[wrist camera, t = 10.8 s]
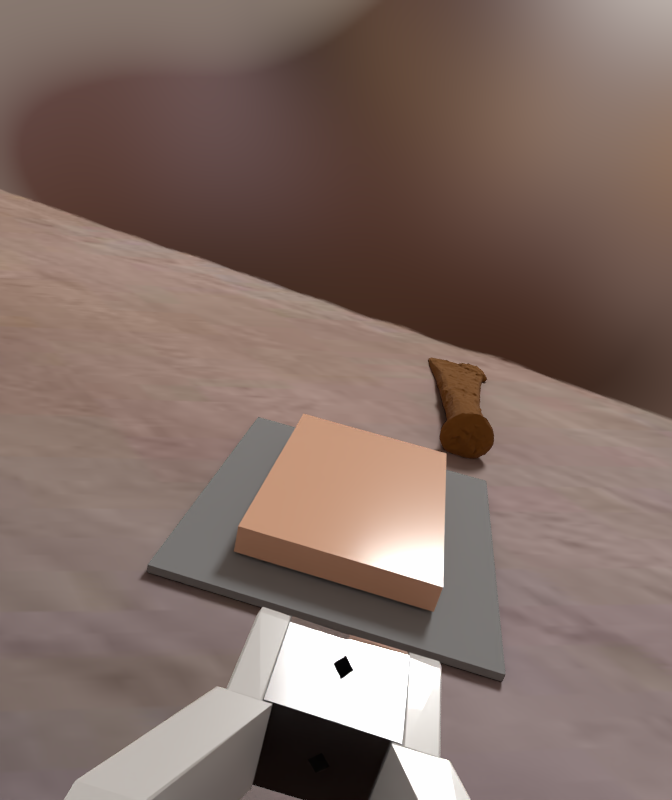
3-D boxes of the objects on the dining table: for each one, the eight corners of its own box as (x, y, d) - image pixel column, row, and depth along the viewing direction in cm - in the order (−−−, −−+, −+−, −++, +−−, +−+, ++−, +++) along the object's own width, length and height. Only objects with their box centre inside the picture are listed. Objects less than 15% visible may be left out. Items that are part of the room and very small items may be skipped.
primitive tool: (426, 361, 57) (437, 327, 56) (481, 375, 57) (493, 342, 56) (433, 457, 40) (448, 412, 38) (511, 477, 40) (530, 433, 38)
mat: (147, 572, 24) (147, 564, 24) (257, 422, 38) (258, 417, 38) (502, 681, 23) (505, 674, 23) (484, 486, 37) (486, 480, 36)
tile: (238, 526, 25) (303, 413, 36) (233, 555, 26) (298, 436, 37) (443, 586, 24) (446, 453, 35) (432, 615, 25) (439, 475, 36)
